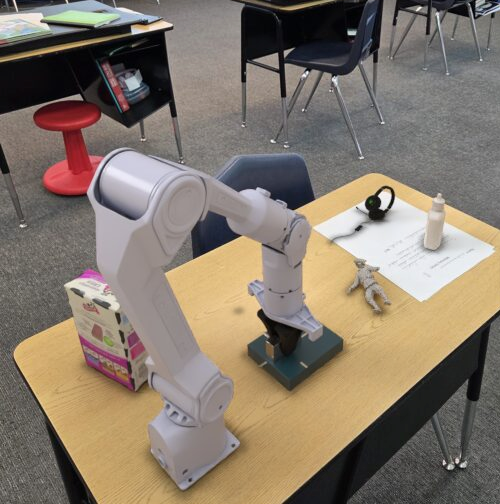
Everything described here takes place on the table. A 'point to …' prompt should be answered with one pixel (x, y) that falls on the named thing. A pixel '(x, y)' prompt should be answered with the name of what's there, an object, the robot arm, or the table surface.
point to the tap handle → (276, 347)
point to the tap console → (297, 357)
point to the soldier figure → (368, 283)
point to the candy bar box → (106, 331)
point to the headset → (376, 206)
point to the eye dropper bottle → (435, 223)
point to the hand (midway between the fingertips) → (284, 347)
